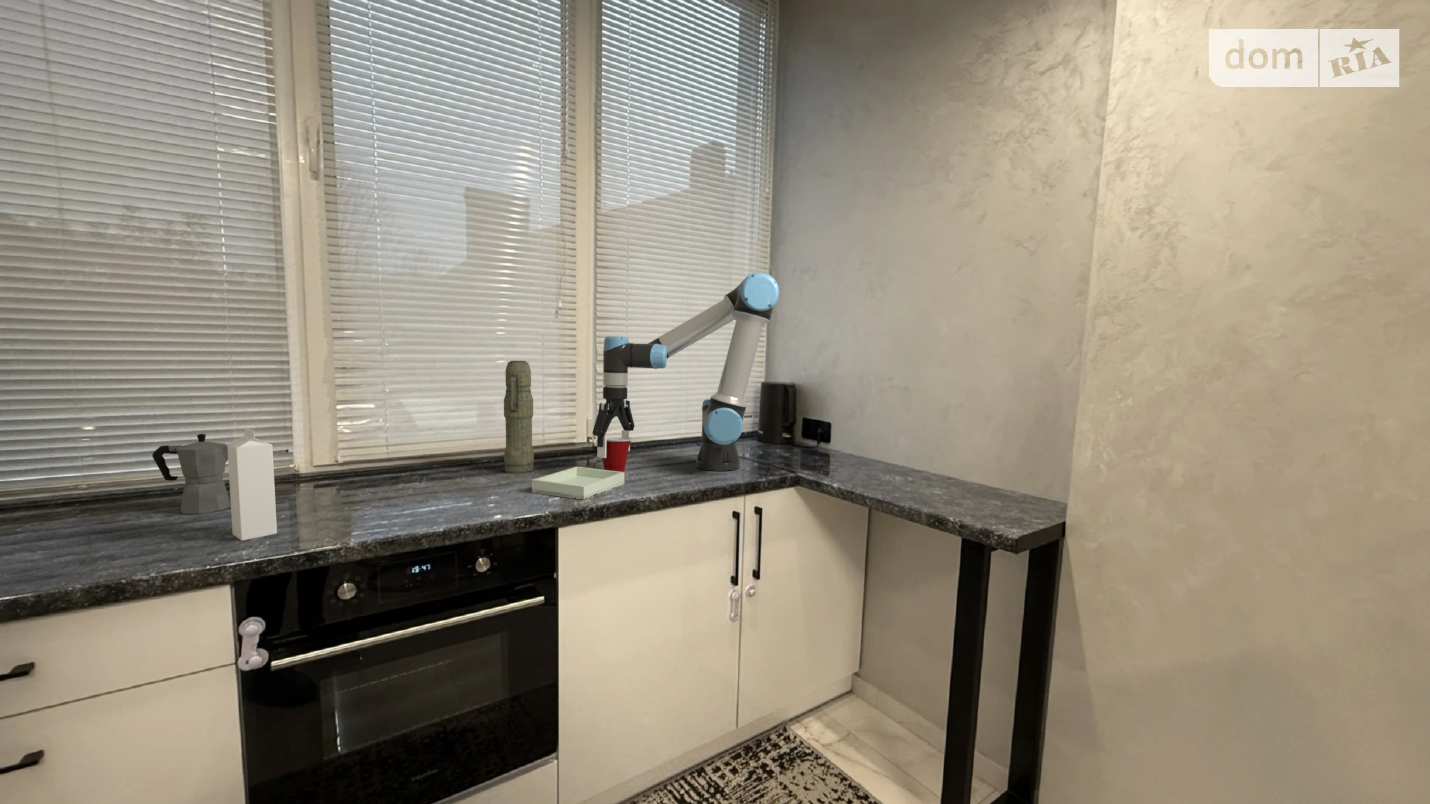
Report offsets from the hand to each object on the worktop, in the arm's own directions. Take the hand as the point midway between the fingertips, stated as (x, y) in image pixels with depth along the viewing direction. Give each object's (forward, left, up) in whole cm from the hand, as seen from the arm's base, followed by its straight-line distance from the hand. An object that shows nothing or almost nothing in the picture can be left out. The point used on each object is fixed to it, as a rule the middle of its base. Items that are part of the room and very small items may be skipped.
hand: (614, 454), depth 181 cm
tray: (-1, +19, -7) cm, 20 cm away
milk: (+35, +82, -7) cm, 89 cm away
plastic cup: (0, 0, -7) cm, 7 cm away
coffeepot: (+65, +77, -7) cm, 101 cm away
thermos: (+30, +9, -7) cm, 32 cm away
